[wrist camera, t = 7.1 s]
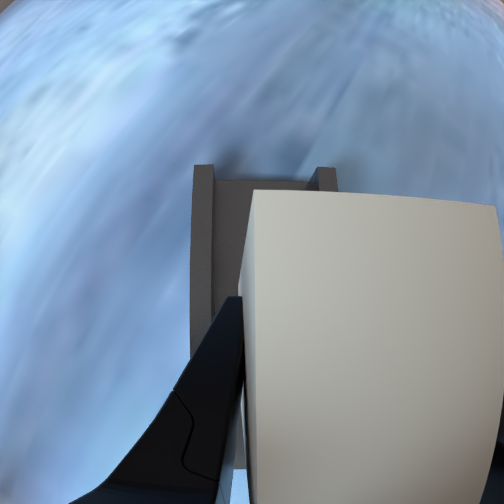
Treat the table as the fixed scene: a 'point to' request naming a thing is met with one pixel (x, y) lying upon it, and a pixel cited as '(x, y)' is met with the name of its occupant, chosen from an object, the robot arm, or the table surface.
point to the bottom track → (227, 246)
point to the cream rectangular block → (370, 348)
